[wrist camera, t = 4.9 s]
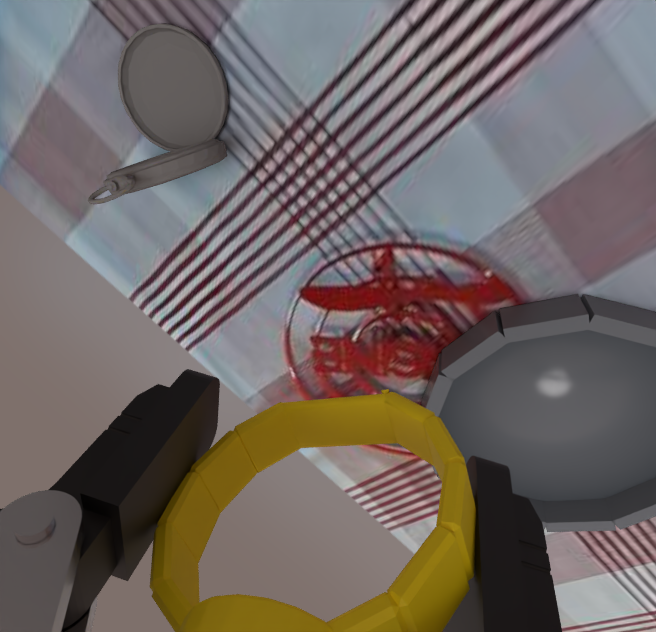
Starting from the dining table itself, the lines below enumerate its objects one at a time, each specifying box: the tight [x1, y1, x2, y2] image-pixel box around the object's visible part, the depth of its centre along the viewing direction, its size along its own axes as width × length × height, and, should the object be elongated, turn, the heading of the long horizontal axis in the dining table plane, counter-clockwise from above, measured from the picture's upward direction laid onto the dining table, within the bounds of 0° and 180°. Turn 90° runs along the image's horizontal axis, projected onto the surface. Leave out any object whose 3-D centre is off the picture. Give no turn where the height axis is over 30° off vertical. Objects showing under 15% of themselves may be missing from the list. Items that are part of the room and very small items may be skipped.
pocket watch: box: [88, 24, 228, 204], centre depth 24 cm, size 8×8×10 cm
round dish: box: [421, 294, 656, 532], centre depth 31 cm, size 18×18×2 cm
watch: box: [150, 389, 476, 632], centre depth 9 cm, size 6×3×6 cm, turn 108°
